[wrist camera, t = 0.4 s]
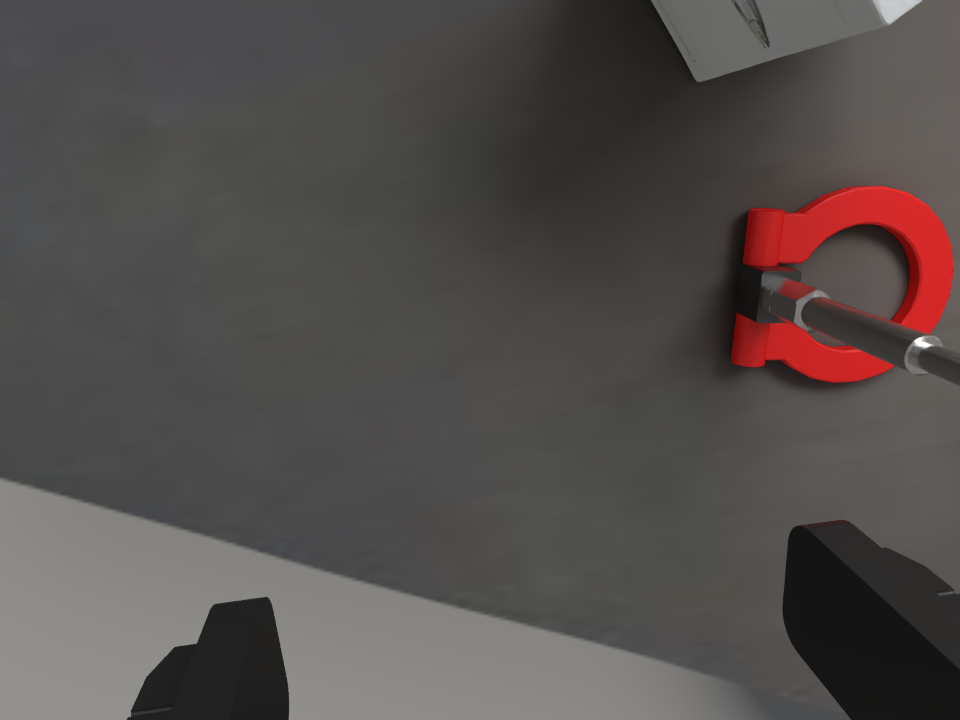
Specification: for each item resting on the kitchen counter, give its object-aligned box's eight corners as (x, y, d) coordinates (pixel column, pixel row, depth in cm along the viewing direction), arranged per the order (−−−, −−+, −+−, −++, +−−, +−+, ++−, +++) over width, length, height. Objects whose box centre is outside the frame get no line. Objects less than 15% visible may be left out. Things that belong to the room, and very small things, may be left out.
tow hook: (952, 185, 29) (742, 185, 28) (1351, 207, 16) (992, 208, 16) (914, 373, 31) (720, 377, 30) (1236, 516, 19) (921, 528, 18)
